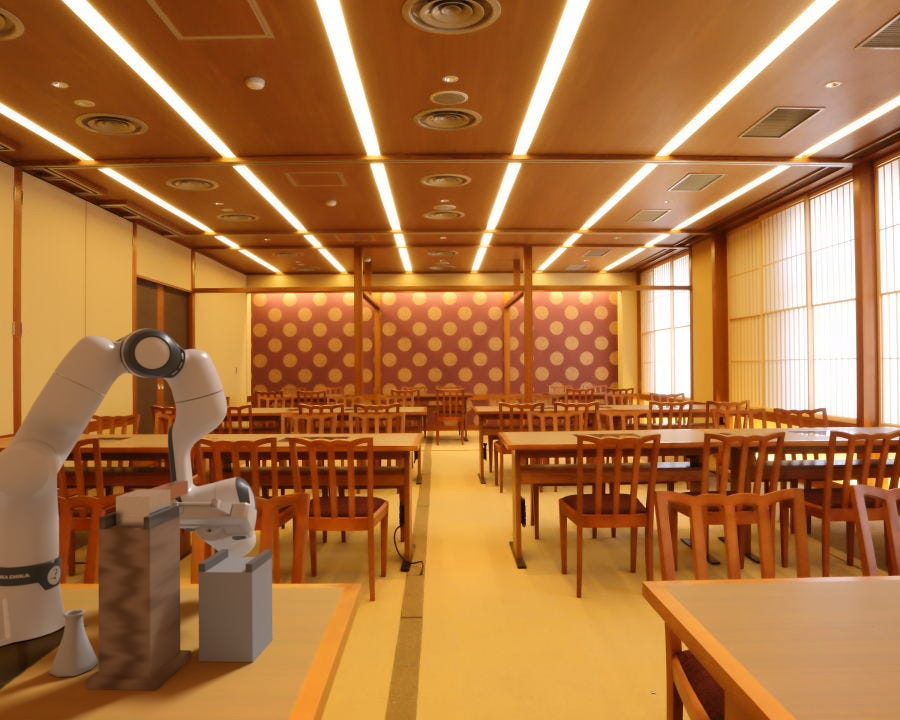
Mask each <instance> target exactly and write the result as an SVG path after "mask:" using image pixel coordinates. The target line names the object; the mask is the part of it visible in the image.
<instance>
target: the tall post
mask: <svg viewBox="0 0 900 720" xmlns="http://www.w3.org/2000/svg"><path fill="white" fill-rule="evenodd" d="M98 517H99V518H98V661H99V662H98V670H97V671H96V672H95V673H93V674H92V675H90V676H89V677H88V678H86V681H85V686H86V687H85V688H86V690H88V689H89V690H91V689H92V690H93V689H94V690H122V691H123V690H125V691H126V690H128V691H129V690H132V691H157V690H158V689H159V688H160V687H162V686H163V685H164V684H165V683H166V682H167V681H168V680H169V679H170V678H171V677H172V676H174V675H175V674H176V673H177V672H178V671H179V670H180V669H181V668H183V667H184V666H185V665H186V664H187V663H188V662H189V661H190V660H192V650H190V649H187V650H186V649H181V553H180V552H181V528H180V517H179V506H172V507H169V508H166V509H164V510H161V511H159V512H156V513H154V514H151V515H148V516H146V517H144V526H116V511H113V512H111V513H108V514H104V515H101V516H98Z"/></svg>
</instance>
